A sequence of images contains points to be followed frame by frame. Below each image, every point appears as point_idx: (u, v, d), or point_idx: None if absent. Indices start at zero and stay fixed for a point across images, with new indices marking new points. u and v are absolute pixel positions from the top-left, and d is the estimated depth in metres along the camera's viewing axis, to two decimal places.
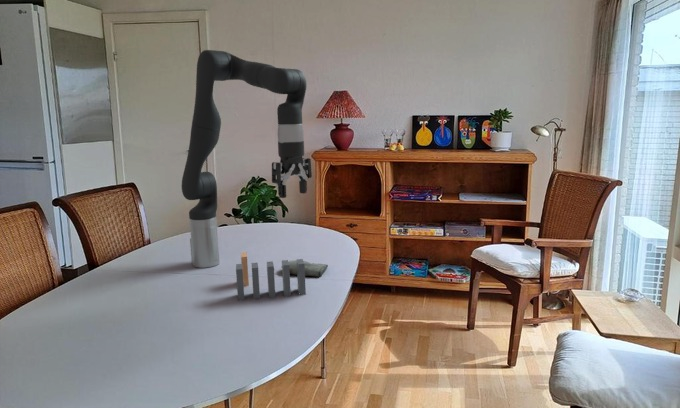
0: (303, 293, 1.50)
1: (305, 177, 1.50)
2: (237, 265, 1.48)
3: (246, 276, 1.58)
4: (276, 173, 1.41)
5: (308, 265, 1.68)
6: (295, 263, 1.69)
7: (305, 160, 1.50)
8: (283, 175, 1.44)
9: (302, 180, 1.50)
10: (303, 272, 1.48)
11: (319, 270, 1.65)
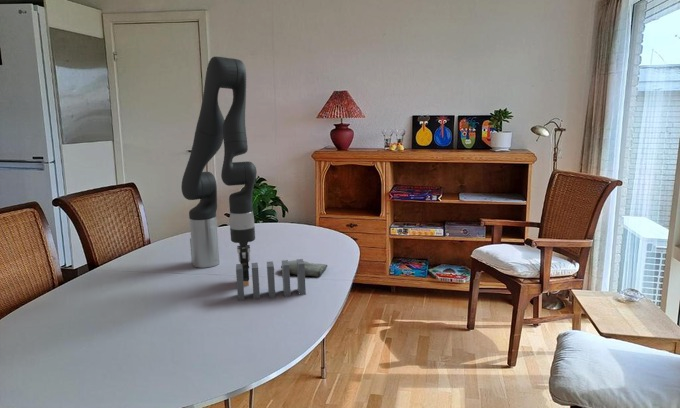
0: (303, 293, 1.50)
1: None
2: (237, 265, 1.48)
3: None
4: None
5: (307, 265, 1.68)
6: (294, 263, 1.69)
7: (242, 252, 1.53)
8: None
9: None
10: (303, 272, 1.48)
11: (318, 270, 1.65)
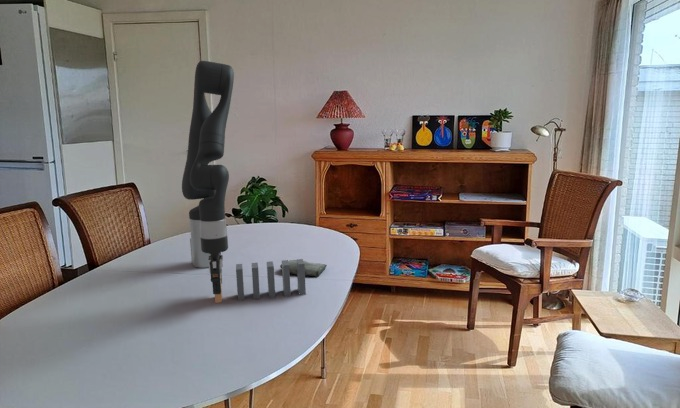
0: (303, 293, 1.50)
1: None
2: (237, 265, 1.48)
3: None
4: None
5: (306, 265, 1.68)
6: (293, 262, 1.69)
7: None
8: None
9: None
10: (303, 272, 1.48)
11: (317, 270, 1.65)
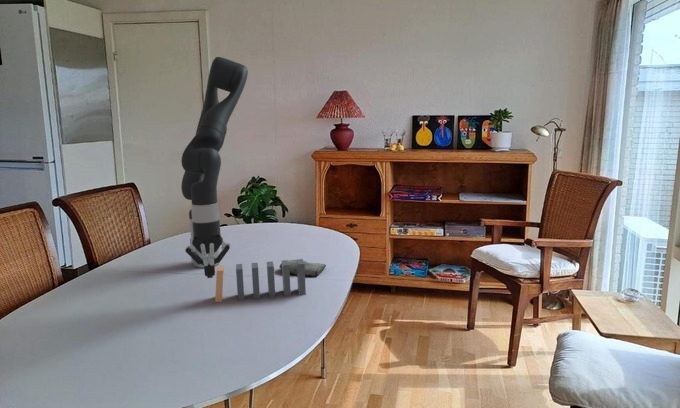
0: (303, 293, 1.50)
1: None
2: (237, 265, 1.48)
3: (220, 292, 1.45)
4: None
5: (305, 264, 1.69)
6: (293, 262, 1.70)
7: None
8: (214, 255, 1.45)
9: (208, 264, 1.45)
10: (303, 272, 1.48)
11: (316, 270, 1.65)
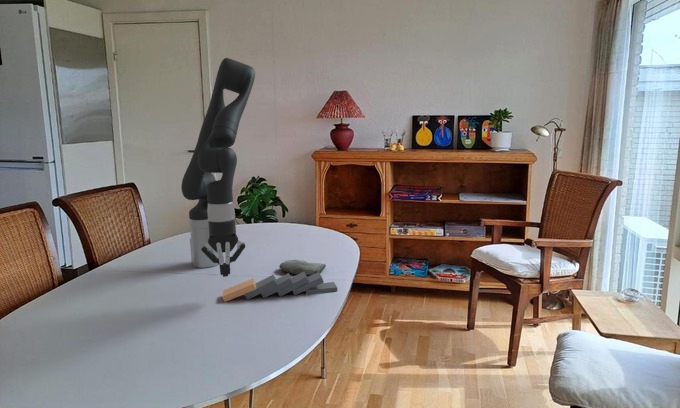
0: (307, 293, 1.50)
1: None
2: (274, 276, 1.50)
3: (234, 296, 1.46)
4: None
5: (305, 264, 1.69)
6: (293, 262, 1.70)
7: None
8: None
9: None
10: None
11: (316, 270, 1.65)
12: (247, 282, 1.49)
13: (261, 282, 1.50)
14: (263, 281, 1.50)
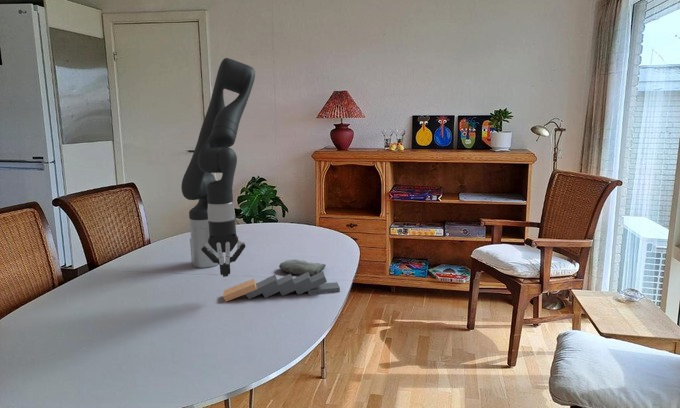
0: (309, 293, 1.50)
1: None
2: (275, 277, 1.51)
3: (234, 296, 1.46)
4: None
5: (305, 264, 1.69)
6: (292, 262, 1.70)
7: None
8: None
9: None
10: (331, 292, 1.51)
11: (315, 269, 1.66)
12: (248, 282, 1.49)
13: (262, 281, 1.50)
14: (264, 281, 1.50)
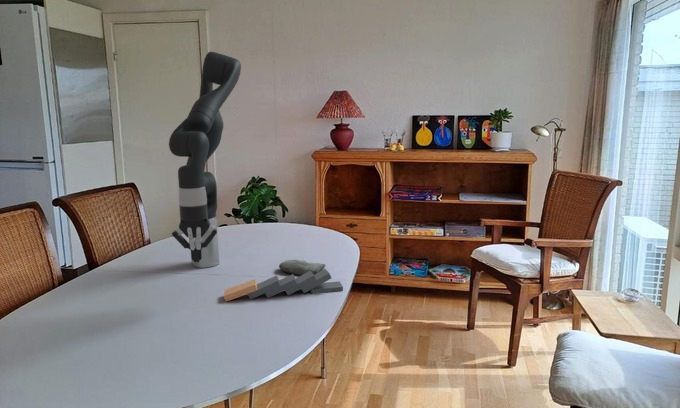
0: None
1: None
2: (277, 277, 1.51)
3: (235, 296, 1.46)
4: None
5: (305, 264, 1.69)
6: (292, 262, 1.70)
7: None
8: (201, 239, 1.44)
9: (195, 248, 1.44)
10: None
11: (315, 269, 1.66)
12: (249, 283, 1.49)
13: (264, 282, 1.50)
14: (266, 281, 1.50)
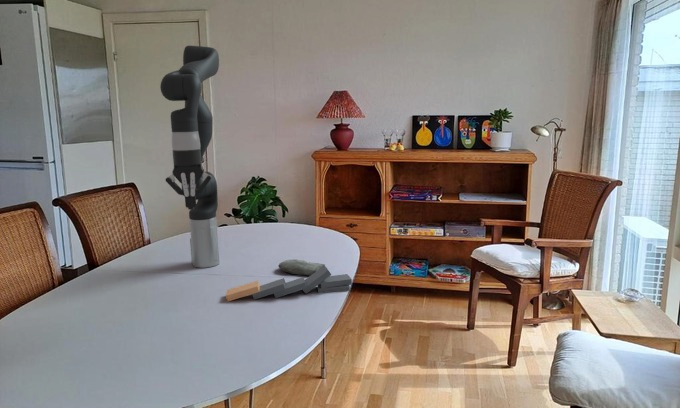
0: (319, 292, 1.51)
1: None
2: (284, 280, 1.50)
3: (237, 296, 1.46)
4: None
5: (304, 264, 1.69)
6: (291, 262, 1.70)
7: None
8: (195, 186, 1.43)
9: (189, 195, 1.43)
10: None
11: (314, 269, 1.66)
12: (252, 284, 1.49)
13: (270, 283, 1.50)
14: (272, 283, 1.50)
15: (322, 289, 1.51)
